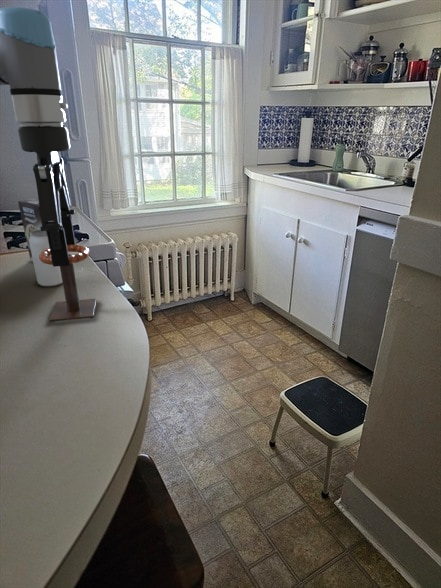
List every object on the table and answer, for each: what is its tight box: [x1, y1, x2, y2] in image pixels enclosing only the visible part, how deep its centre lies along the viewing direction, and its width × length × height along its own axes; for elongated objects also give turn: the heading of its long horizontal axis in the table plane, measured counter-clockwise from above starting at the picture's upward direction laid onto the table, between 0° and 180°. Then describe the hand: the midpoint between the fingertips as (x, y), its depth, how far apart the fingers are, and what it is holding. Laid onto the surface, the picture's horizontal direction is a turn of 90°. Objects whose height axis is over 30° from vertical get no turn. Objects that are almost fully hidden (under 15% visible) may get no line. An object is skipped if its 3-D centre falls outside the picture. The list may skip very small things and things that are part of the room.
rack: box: [48, 253, 98, 323], centre depth 76 cm, size 8×8×12 cm
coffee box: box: [17, 198, 54, 263], centre depth 102 cm, size 9×6×16 cm
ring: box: [39, 244, 91, 265], centre depth 73 cm, size 9×9×1 cm
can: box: [29, 230, 63, 287], centre depth 90 cm, size 6×6×12 cm
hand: (65, 256), depth 73 cm, fingers closed on ring, 9 cm apart
